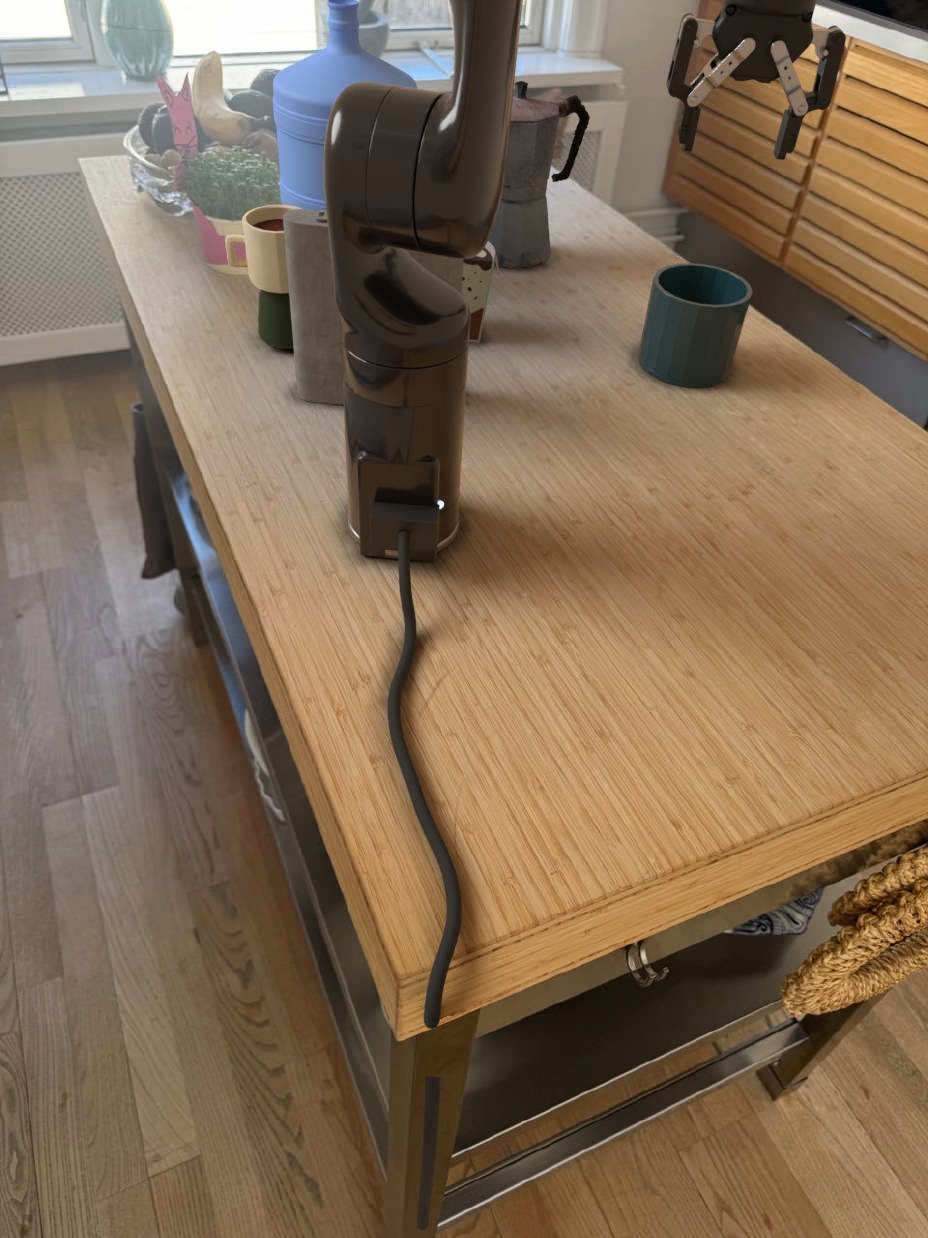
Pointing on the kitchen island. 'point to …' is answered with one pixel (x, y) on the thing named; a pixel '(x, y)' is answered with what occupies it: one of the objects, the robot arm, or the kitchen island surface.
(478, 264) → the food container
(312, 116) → the water jug
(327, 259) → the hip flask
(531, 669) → the kitchen island surface
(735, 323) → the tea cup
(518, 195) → the moka pot
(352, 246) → the robot arm
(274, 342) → the character mug
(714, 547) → the kitchen island surface
